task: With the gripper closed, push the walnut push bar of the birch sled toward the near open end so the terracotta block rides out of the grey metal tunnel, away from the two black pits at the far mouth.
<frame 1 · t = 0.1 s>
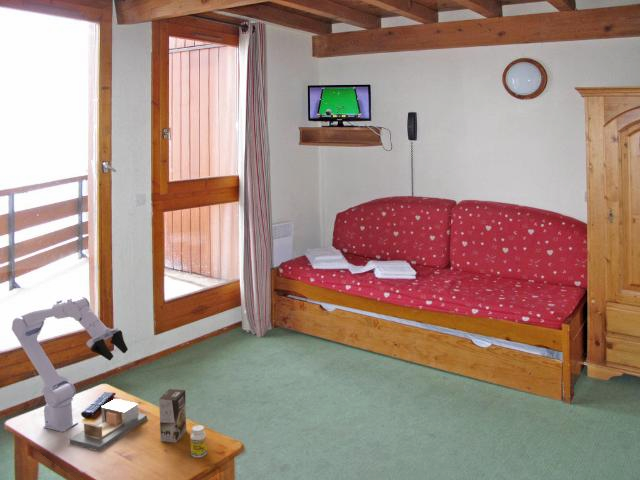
hand: (118, 354, 224), 32 cm above the table, tool tilted 50°, fingers open, 7 cm apart
block: (116, 420, 240), point 2 cm above the table, touching sled
supplement bottle: (198, 454, 222), on the table
coffee box: (173, 436, 234), on the table
tunnel: (119, 412, 242), on the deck, point 4 cm above the table
sled: (107, 422, 236), point 4 cm above the table, slide at 0.0 cm, touching block
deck: (110, 430, 237), on the table
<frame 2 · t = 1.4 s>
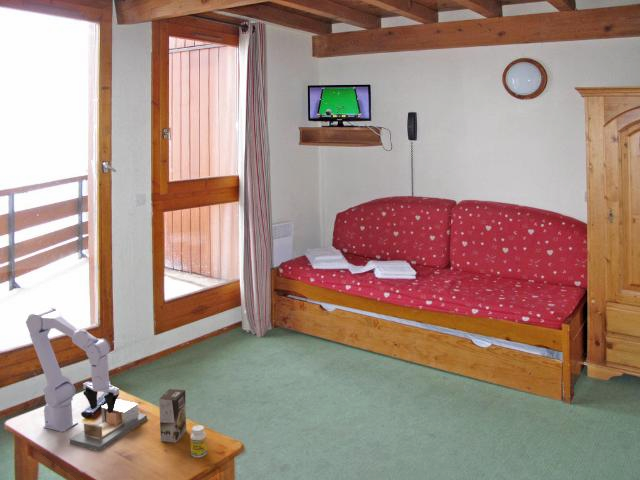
hand: (102, 410, 232), 10 cm above the table, tool pointing down, fingers open, 7 cm apart
nothing on the table moved.
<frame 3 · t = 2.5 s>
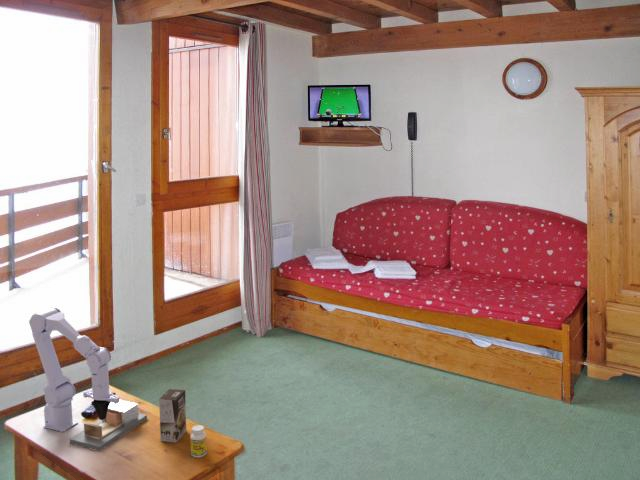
hand: (102, 418, 233), 6 cm above the table, tool pointing down, fingers closed
nothing on the table moved.
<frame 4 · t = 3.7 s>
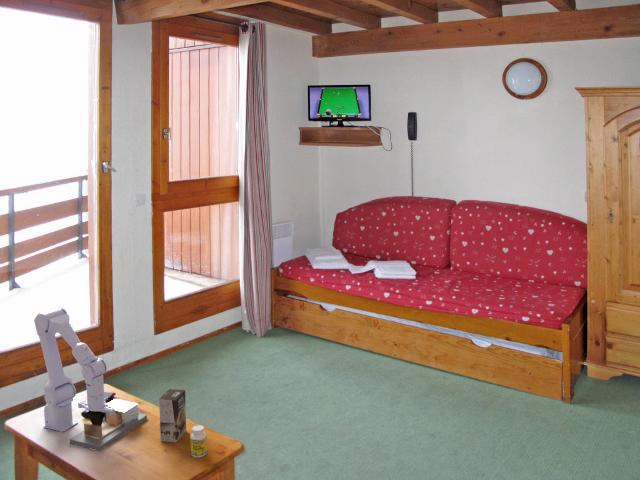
hand: (97, 429, 231), 3 cm above the table, tool pointing down, fingers closed, pressing on sled
sled: (107, 422, 236), point 4 cm above the table, slide at 0.0 cm, touching block, gripper
everything else where it was.
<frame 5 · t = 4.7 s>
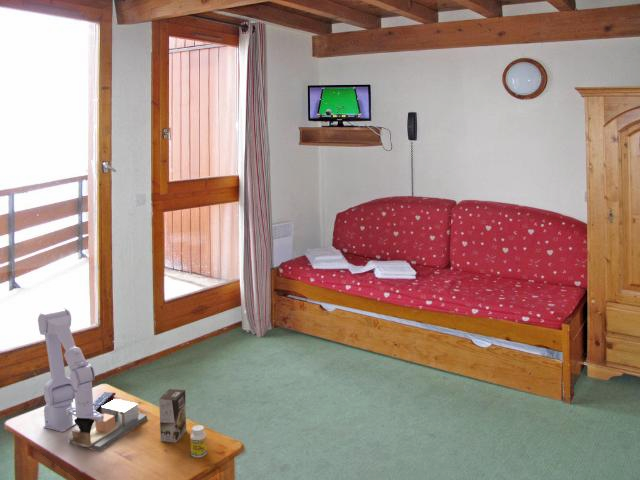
hand: (86, 436, 226), 3 cm above the table, tool pointing down, fingers closed, pressing on sled
block: (105, 427, 235), point 2 cm above the table, touching sled
sled: (96, 428, 230), point 4 cm above the table, slide at 5.7 cm, touching block, gripper
everything else where it was.
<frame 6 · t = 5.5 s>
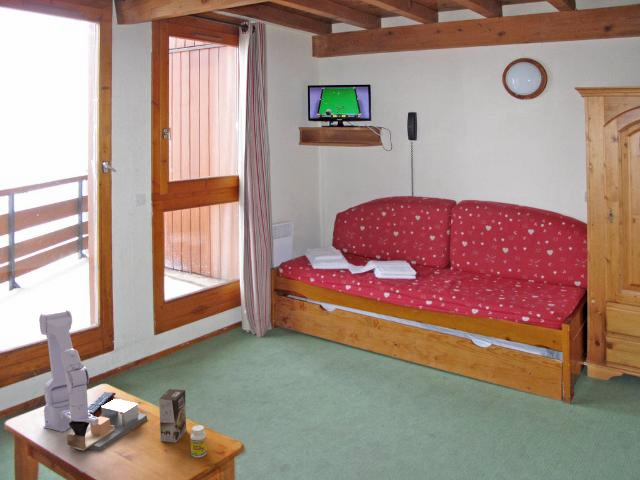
hand: (81, 440, 224), 3 cm above the table, tool pointing down, fingers closed, pressing on sled
block: (100, 430, 233), point 2 cm above the table, touching sled
sled: (91, 432, 228), point 4 cm above the table, slide at 8.2 cm, touching block, gripper
everything else where it was.
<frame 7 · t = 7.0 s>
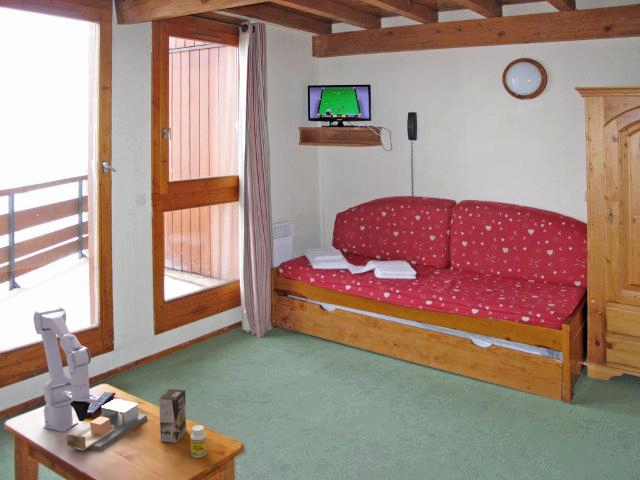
hand: (82, 420, 226), 9 cm above the table, tool pointing down, fingers closed
sled: (91, 432, 228), point 4 cm above the table, slide at 8.3 cm, touching block
everything else where it was.
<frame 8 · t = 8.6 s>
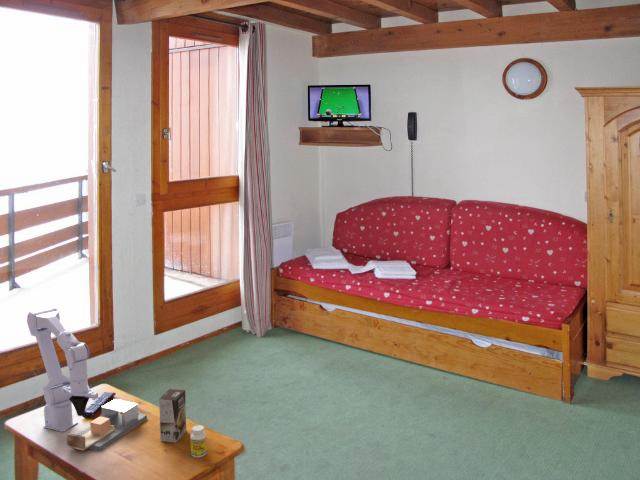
hand: (81, 414, 229), 9 cm above the table, tool pointing down, fingers closed
nothing on the table moved.
at the end: sled slide at 8.3 cm; block inside the target area (0.1 cm from its centre), point 2.2 cm above the table; block tilted 0° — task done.
